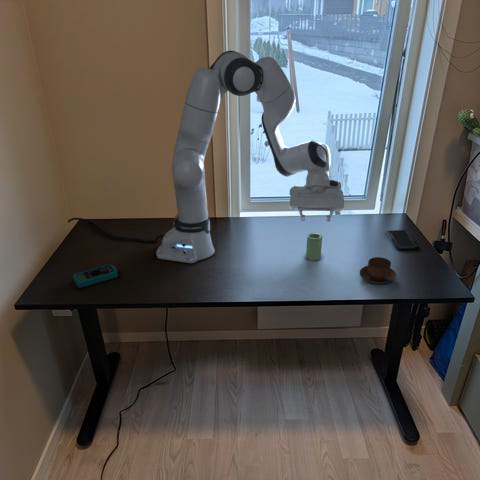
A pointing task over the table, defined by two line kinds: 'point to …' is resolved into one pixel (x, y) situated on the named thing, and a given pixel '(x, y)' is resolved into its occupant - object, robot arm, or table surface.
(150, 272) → the table surface
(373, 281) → the cup and saucer
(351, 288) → the table surface
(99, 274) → the digital multimeter
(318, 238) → the green cylindrical container
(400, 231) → the phone
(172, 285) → the table surface
